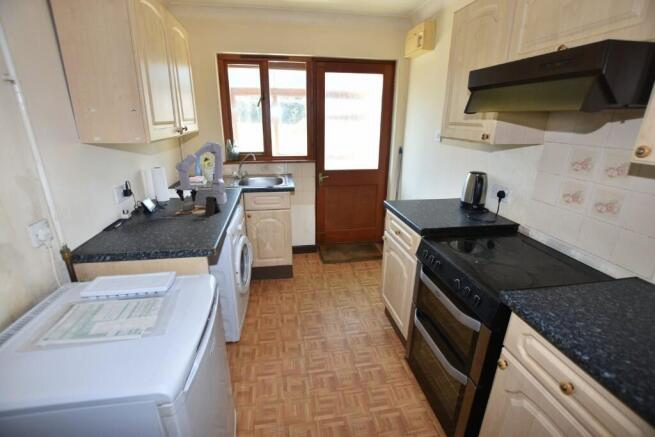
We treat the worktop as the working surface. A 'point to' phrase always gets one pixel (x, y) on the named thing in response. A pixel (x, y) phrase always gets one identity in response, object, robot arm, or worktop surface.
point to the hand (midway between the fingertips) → (188, 201)
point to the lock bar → (189, 206)
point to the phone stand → (211, 206)
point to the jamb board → (195, 211)
